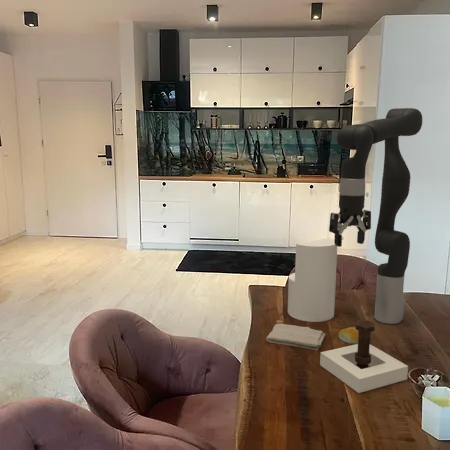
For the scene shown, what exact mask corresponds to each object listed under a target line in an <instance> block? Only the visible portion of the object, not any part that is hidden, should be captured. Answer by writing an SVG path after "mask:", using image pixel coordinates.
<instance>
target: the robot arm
mask: <svg viewBox="0 0 450 450" xmlns="http://www.w3.org/2000/svg"><path fill="white" fill-rule="evenodd" d="M422 126H423V115H422V112H421V111H420V110H419V109H417V108H413V107H403V108H391V109H389V110H388V111H387V113H386V116H385V118H378V119H373V120H371V121H366V122H364V123H358V124H349V125H344V126H343V127H341V129H340V130H338V133H336V134H337V135H336V143H337V145H338V146H339V148H341V149H342V150H346V151H348V150H349V151H355V153H354V155H353V156H352V157H347V158H344V159H343V160H342V162H341V170H340V171H341V172H340V174H341V175H340V182H339V194H338V196H339V197H338V207H339V213H337V212H331V213H330V215H329V216H330V217H329V227H328V231H329V232H330V233H331V234H332V233H333V234H334V243H335V245H336V246H337V248H340V247H342V242H343V235H342V234H343V232H344V231H345V230H346V229H347V228H348V227H353V226H354V227H355V228H356V230H358V231H357V237H356V238H357V239H356V243H357V244H359V245H363V244H364V243H365V238H366V236H365V235H366V232H367V231H368V230H372V229H371V228H372V212H371V210H367V209H364V208H365V201H366V199H365V197H366V167H367V162H368V158H369V156H370V152H371V150H372V148H373V147H372V146H373V145H374V144H378V143H381V142H383V141H384V156H383V157H384V159H383V160H384V161H383V169H382V170H383V172H382V179H381V189H380V190H381V196H380V204H379V212H378V220H377V224H376V229H375V230H376V231H375V234H374V235H375V236H374V246H375V249H376V250H377V252H379V253H381V254H383V255H385V256H388V258H387V262H386V263H385V262H384V263H380V264H379V265H378V266H377V275H376V290H375V291H376V292H375V303H374V319H375V320H376V321H378V322H380V323H383V324H389V325H391V324H392V325H393V324H395V325H396V324H400V323H401V321H404V311H405V299H406V298H405V297H406V295H405V293H404V286H405V272H406V270H407V268H408V265H409V264H408V263H409V257H410V247H411V239H410V237H409V235H408V234H407V233H406V232H404V231H398V230H395V225H396V224H395V223H396V217H397V214H398V212H399V210H400V209H401V207H402V206H403V205H404V203H405V202H406V200H407V198H408V196H409V193H410V185H411V171H410V170H409V167H408V165H407V163H406V162H405V160H404V157H403V155H402V153H401V150H400V142H399V137H411V136H412V137H413V136H415V135H417V134H418V133H419V132H420V131H421V129H422Z"/></svg>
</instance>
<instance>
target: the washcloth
mask: <svg viewBox="0 0 450 450" xmlns="http://www.w3.org/2000/svg"><path fill="white" fill-rule="evenodd" d="M325 337H326V333H324V332H323V331H322V330H317V329H314V328H310V326H298V325H293V324H285V323H276V324H274V325H273V328H272V330H271V331H270V332H269V334H268V335H267V336H266V338H265V339H266V342H267V343H271V344H277V345H282V346H283V345H284V346H289V347H296V348H303V349H307V350H312V351H319V349H321V347H322V344H323V342H324V340H325Z"/></svg>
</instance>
